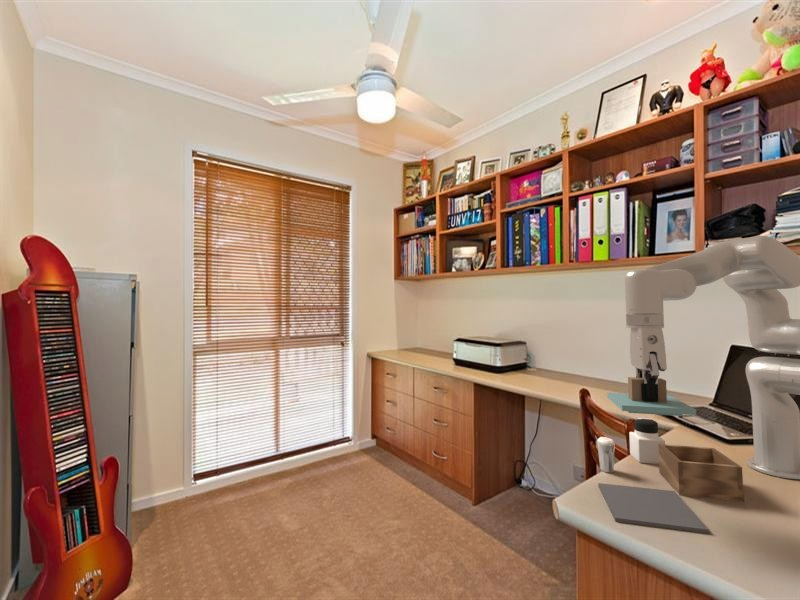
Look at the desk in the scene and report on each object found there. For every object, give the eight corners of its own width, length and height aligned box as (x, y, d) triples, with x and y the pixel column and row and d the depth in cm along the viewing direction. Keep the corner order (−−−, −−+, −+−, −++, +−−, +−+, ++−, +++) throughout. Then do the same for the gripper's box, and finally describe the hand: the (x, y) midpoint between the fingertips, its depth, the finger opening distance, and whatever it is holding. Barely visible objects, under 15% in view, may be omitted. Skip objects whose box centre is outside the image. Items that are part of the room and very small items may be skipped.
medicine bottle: (666, 464, 110) (664, 423, 110) (639, 463, 111) (637, 422, 112) (654, 455, 117) (653, 416, 117) (629, 454, 118) (628, 416, 119)
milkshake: (591, 467, 109) (590, 433, 109) (609, 466, 109) (607, 432, 109) (601, 474, 104) (600, 438, 105) (619, 473, 105) (618, 437, 105)
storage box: (715, 478, 101) (713, 448, 101) (743, 501, 88) (742, 467, 89) (659, 472, 105) (658, 443, 105) (679, 494, 92) (677, 461, 92)
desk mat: (674, 494, 92) (674, 491, 92) (709, 533, 76) (708, 529, 76) (598, 486, 97) (598, 483, 97) (615, 521, 81) (615, 517, 81)
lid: (670, 403, 93) (669, 375, 93) (696, 418, 79) (695, 385, 80) (607, 400, 97) (606, 373, 97) (622, 414, 84) (621, 382, 84)
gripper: (677, 322, 80) (680, 409, 79) (650, 320, 96) (653, 393, 95) (637, 322, 82) (640, 406, 82) (617, 320, 98) (619, 391, 97)
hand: (647, 398), depth 88 cm, fingers closed on lid, 3 cm apart
